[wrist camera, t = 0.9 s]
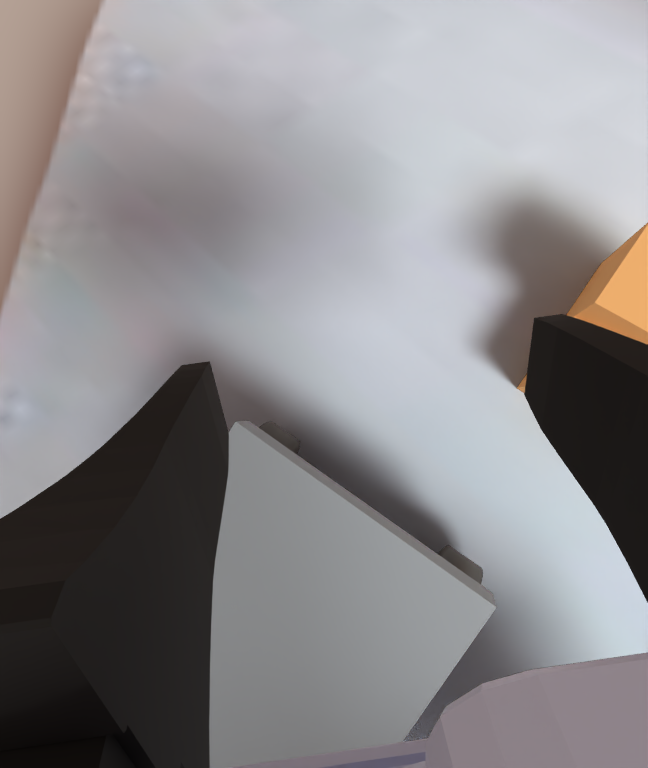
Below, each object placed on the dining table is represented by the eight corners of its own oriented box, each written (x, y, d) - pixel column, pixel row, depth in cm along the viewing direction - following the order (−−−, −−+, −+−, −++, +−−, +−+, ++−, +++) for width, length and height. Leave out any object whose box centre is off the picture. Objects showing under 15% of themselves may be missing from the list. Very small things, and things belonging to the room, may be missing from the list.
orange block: (681, 307, 24) (760, 275, 18) (592, 434, 24) (641, 443, 19) (600, 263, 25) (651, 219, 19) (516, 388, 25) (540, 383, 19)
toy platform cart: (481, 556, 25) (521, 692, 13) (271, 860, 27) (136, 1227, 15) (282, 417, 28) (163, 426, 16) (99, 704, 29) (-135, 911, 17)
